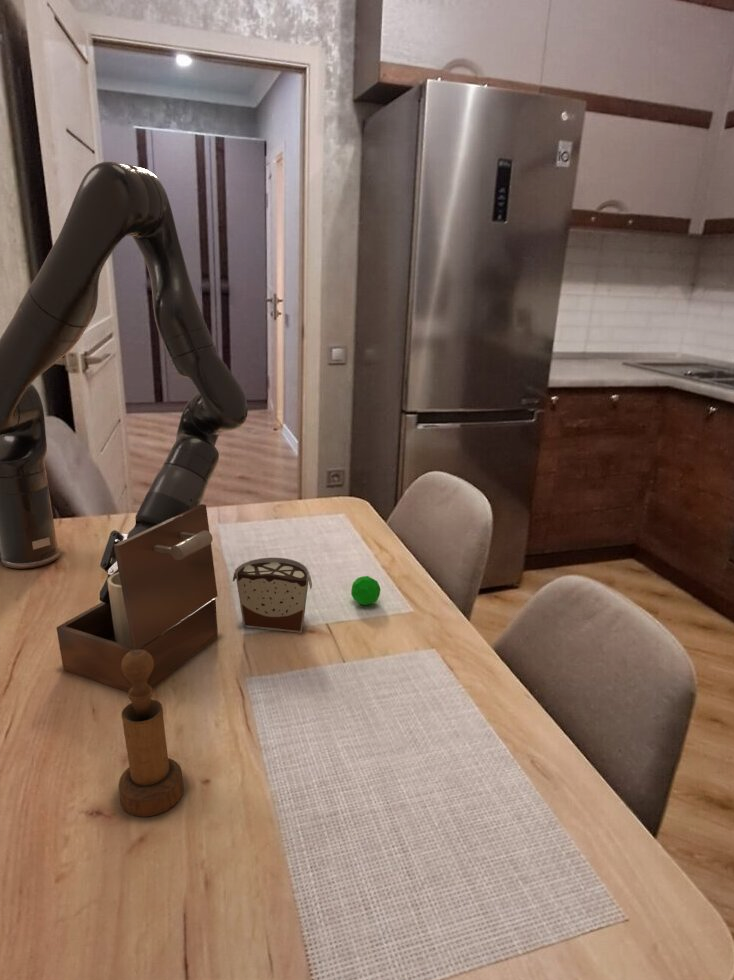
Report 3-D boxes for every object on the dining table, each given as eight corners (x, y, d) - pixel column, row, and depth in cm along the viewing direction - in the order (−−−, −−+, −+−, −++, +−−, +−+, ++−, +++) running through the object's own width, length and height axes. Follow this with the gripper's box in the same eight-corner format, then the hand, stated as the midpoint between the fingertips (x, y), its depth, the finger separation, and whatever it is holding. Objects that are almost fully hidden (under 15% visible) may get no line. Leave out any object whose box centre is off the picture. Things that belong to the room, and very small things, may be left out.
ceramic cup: (107, 643, 96) (98, 581, 92) (134, 626, 100) (127, 566, 97) (136, 653, 94) (129, 590, 90) (163, 635, 99) (157, 574, 95)
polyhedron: (356, 611, 112) (357, 586, 110) (346, 598, 116) (347, 573, 114) (384, 607, 114) (385, 582, 112) (373, 594, 118) (374, 570, 116)
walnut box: (63, 669, 93) (56, 627, 90) (147, 616, 107) (143, 578, 104) (140, 696, 88) (135, 652, 85) (218, 637, 102) (215, 598, 100)
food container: (319, 614, 110) (319, 559, 107) (311, 633, 105) (311, 576, 101) (246, 607, 111) (244, 552, 107) (234, 626, 106) (232, 569, 102)
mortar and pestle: (112, 787, 73) (92, 646, 66) (171, 764, 77) (157, 628, 70) (131, 826, 68) (112, 679, 61) (193, 800, 72) (181, 658, 65)
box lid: (113, 544, 80) (150, 550, 78) (201, 503, 95) (234, 508, 92) (132, 649, 85) (167, 657, 83) (213, 595, 100) (244, 601, 98)
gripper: (119, 482, 98) (65, 587, 92) (199, 498, 93) (147, 611, 88) (148, 505, 105) (99, 604, 99) (224, 521, 100) (177, 627, 94)
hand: (122, 607), depth 93 cm, fingers closed on ceramic cup, 5 cm apart
